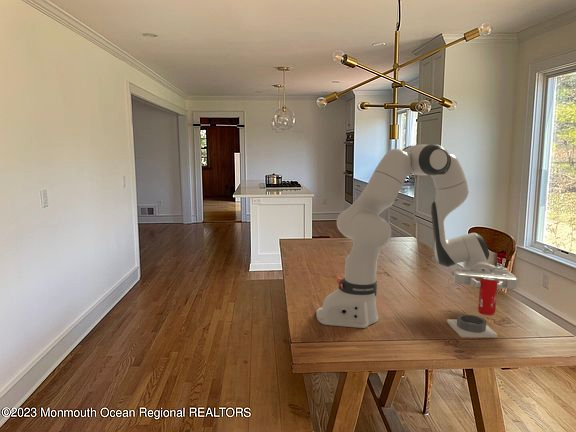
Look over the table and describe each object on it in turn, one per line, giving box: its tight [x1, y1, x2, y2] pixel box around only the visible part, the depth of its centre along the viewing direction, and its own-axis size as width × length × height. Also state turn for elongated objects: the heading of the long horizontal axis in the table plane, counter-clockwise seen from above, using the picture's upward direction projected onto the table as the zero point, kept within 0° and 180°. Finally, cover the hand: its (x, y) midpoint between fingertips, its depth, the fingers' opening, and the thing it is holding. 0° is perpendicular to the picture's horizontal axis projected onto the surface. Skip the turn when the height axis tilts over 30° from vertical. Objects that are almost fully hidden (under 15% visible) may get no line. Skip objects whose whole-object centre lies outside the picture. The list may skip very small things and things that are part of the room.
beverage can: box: [477, 277, 498, 316], centre depth 141 cm, size 5×5×12 cm
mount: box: [446, 314, 498, 338], centre depth 144 cm, size 12×12×4 cm
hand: (488, 286), depth 140 cm, fingers closed on beverage can, 5 cm apart
